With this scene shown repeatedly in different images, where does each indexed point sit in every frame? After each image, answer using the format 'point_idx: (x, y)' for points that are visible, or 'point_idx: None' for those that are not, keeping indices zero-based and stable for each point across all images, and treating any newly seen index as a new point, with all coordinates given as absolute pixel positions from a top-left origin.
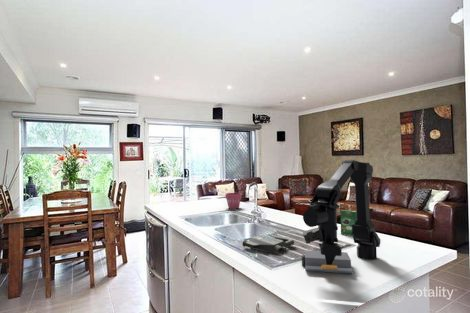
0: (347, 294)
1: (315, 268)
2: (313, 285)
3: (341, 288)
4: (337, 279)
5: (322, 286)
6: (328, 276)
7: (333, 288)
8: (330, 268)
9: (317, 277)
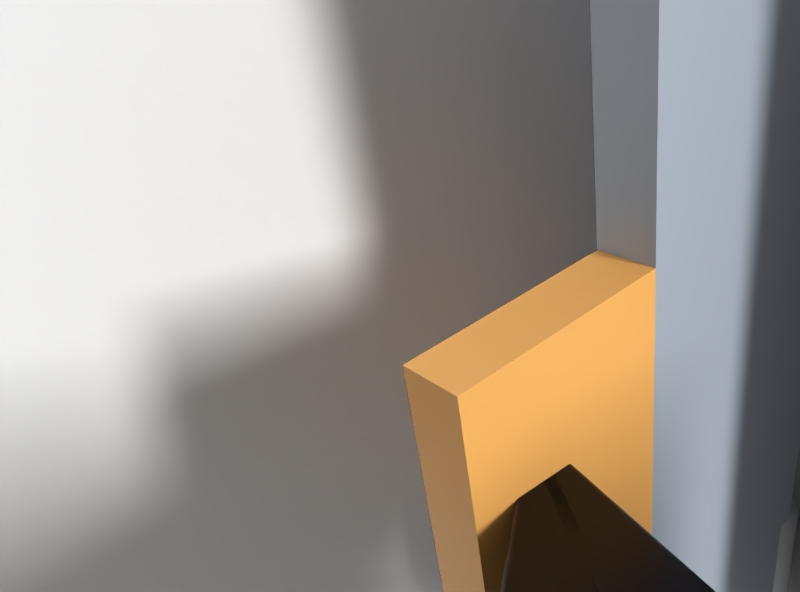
0: (10, 585)
1: (593, 79)
2: (23, 31)
3: (175, 510)
4: None
5: (84, 226)
6: None
7: (107, 409)
8: None
9: (508, 76)
